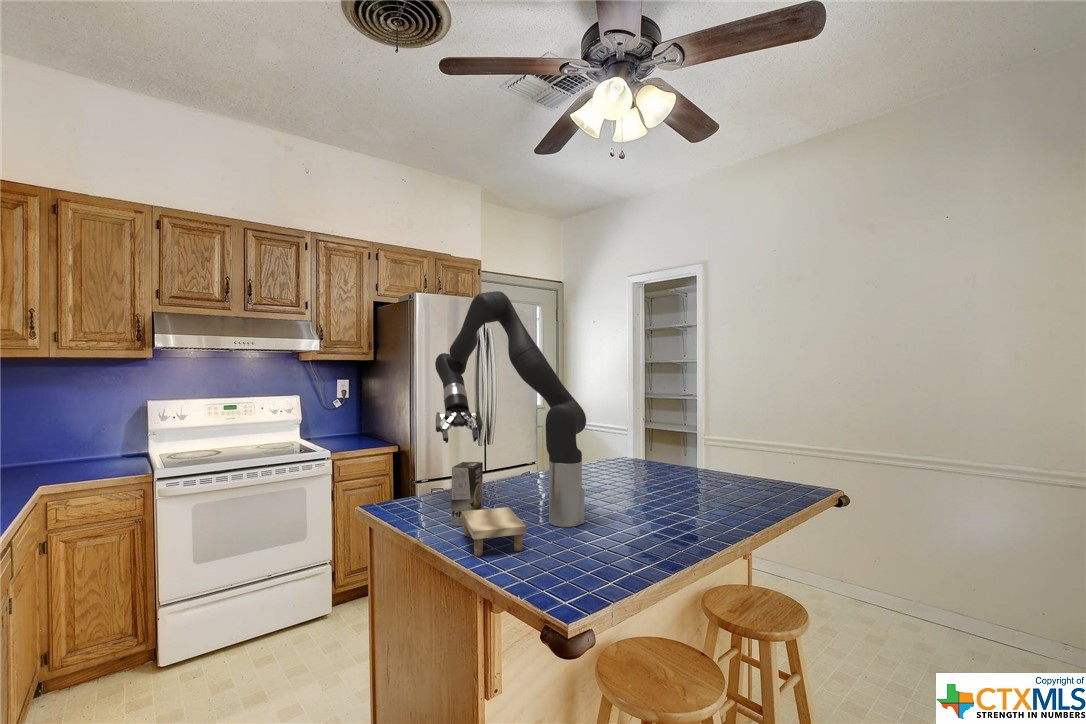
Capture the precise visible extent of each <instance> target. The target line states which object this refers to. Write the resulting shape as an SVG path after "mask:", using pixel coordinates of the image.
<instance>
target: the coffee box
mask: <svg viewBox="0 0 1086 724" xmlns="http://www.w3.org/2000/svg"><path fill="white" fill-rule="evenodd" d="M483 465H484V463H483V461H481V462H480V461H469V462H468V461H462V462H460V463H457V464H456V465H454V466H452V467H451V495H450V496H451V498H450V500H451V501H450V502H451V508H450V509H451V510H450V511H451V512H450V515H451V516H450V518H451V520H450V525H451V526H455V527H464V522H463V520H462V511H472V510H483V505H484V504H483V496H484V495H483V493H484V492H483V485H484V484H483V483H484V481H483V475H484V474H483V473H484V471H483V469H484V468H483Z"/></svg>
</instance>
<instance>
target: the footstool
mask: <svg viewBox="0 0 1086 724" xmlns="http://www.w3.org/2000/svg"><path fill="white" fill-rule="evenodd" d="M462 520H463V522H464V526H463V530H464V531H463V532H464V534H463V536H464V537H465V536H467V537H466V538H470V536H471V538H472V539H473V540H474V541H473V556H474V555H475V556H474V557H482V556H483V554H484V552H483V551H484V539H490V538H499V537H509V536H513V541H514V542H513V551H514V552H516V551H520V552H522V551H523V549H524V548H523V546H524V545H523V544H524V543H523V541H524V540H523V535H527V525H526V524H525V523H524V522H523V521H522V520H521V519H520V518H519V517H518V516H517V514H515V512H514V511H513V510H512V509H511V508H510V507H509V506H506V507H496V508H485V509H483V508H482V510H472V511H462ZM481 555H482V556H481Z"/></svg>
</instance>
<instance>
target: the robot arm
mask: <svg viewBox="0 0 1086 724" xmlns="http://www.w3.org/2000/svg"><path fill="white" fill-rule="evenodd" d="M463 320H464V321H463V324H462V326H461V328H460V330H459V333H458V335H457V336H456V337H455V339H454V341H453V342H452V344H451V345H450V347H449V349H448V350H449V351H448V352H449V353H446V352H444V353H440V354H439V355H437V357H436V359H435V370H436V373H437V375H438V376H439V379H440V381H441V383H442V387H443V388H442V389H443V403H444V404H443V405H444V413H443V414H441V413H440V412H436V414H435V432H436V433H439V432H440V433H441V434H442V435H441V436H442V441H443V442H444V443H445V444H446V443H448V442H449V432H448V431H449V430H450V429H451V428H452V427H454V428H456V427H457V428H458V427H461V428H463V427H465V428H467V429H468V430H470V431H471V434H472V441H473V442H475V443H476V442H477V440H478V439H479V432H480V431H482V429H483V424H484V423H483V420H482V416H481V412H480V411H475V412H473V413H471V411H470V406H469V400H468V396H467V391H466V387H465V380H464V377H463V375H464V374H465V372H466V369H467V364H468V361H469V359H470V356H471V355H472V353H473V352H474V350H475V349H476V347H477V346H478V341H479V340H478V339H479V338H478V331H479V330H480V329H481V328H482V327H483V326H484V325H485V324H489V323H494V322H498V323H499V324H500V326H501V327H502V328H503V330H504V331H505V333H506V336H507V348H508V351H507V352H508V358H509V361H510V363H511V365H512V366H513V367H514V370H515V371H516V373H518V375H519V376H520V378H521V379H522V381H524V382H525V384H527V385H528V386H529V387H531V388H532V389H533V390H534V391H535V392H536V393H537V394H538V395H540V396H541V397H542V398H543V399H544V401H545V402H546V404H547V405H548V406H549V407H550V409H548V411H547V414H546V417H545V446H546V447H545V448H546V451H547V453H548V523H549V524H550V525H552V526H555V527H560V528H561V527H562V528H573V527H577V526H580V525H581V524H585V497H586V496H585V494H586V492H585V488H583V482H582V481H583V463H582V462H583V452H582V451H581V449H579V448H578V445H577V434H580V433H581V432H583V431H584V429H585V428H586V425H587V417H586V413H585V411H584V409H583V407H582V406H581V404H579V403H578V401H577V400H576V399H575V398H574V397H573V396H572V394H571V393H570V392H569V391H568V390H567V389H566V387H565V385H564V384H563V383H562V381H561V380H560V379H559V376H558V375H557V373H556V372H555V371H554V369H553V368H552V366H551V365H550V363H549V361H548V360H547V358H546V356H545V355H544V354H543V352H542V351H541V349H540V348H539V347H538V345H537V344H536V342H535V341H534V339H533V338H532V337H531V335H530V333H529V332H528V330H527V329H526V327H525V325H524V324H523V322H522V320H521V319H520V316H519V315H518V313H517V311H516V309H515V307H514V306H513V303H512V302H511V300H510V298H509V297H508V296H507V294H506V293H504V292H503V291H499V290H498V291H497V290H496V291H495V290H494V291H487V292H481V293H478V294H476V295H475V296H474V297H473V298H472V301H471V303H470V304H469V308H468V310H467V312H466V315H465V318H464V319H463ZM443 420H445V421H446V422H445V423H444V425H441V422H442V421H443ZM473 420H474V421H475V422H474V421H473ZM478 431H479V432H478Z"/></svg>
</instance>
